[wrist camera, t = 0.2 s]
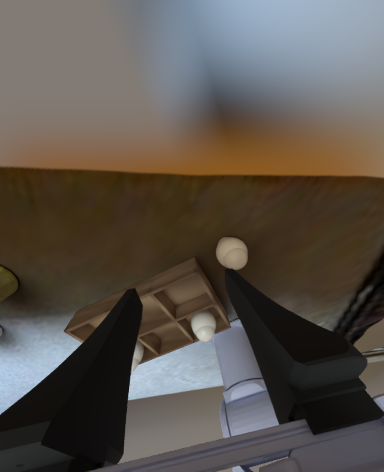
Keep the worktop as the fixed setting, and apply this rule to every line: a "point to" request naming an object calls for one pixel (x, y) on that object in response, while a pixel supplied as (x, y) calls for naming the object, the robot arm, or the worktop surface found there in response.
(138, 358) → the cream egg far
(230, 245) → the beige egg
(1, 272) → the vase
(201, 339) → the cream egg near
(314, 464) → the robot arm
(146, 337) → the egg tray
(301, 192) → the worktop surface
